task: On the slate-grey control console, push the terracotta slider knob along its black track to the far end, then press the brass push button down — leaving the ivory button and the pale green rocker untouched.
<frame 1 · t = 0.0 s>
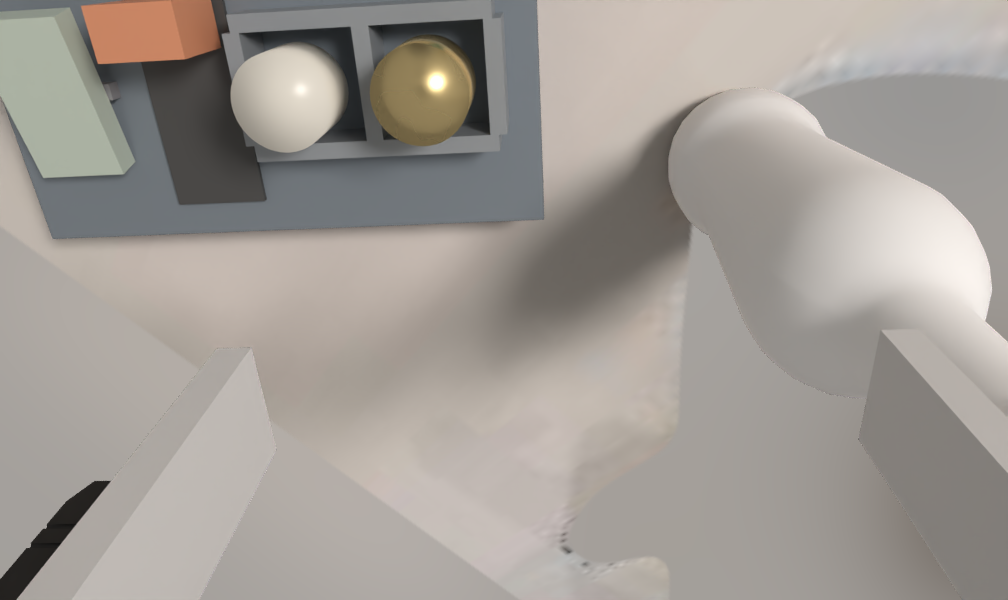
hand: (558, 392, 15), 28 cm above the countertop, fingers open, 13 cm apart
button brass: (425, 89, 31), point 9 cm above the countertop, slide at 0.0 cm
bottle: (733, 153, 41), on the countertop
slider knob: (155, 28, 33), point 7 cm above the countertop, slide at 0.0 cm
console: (287, 69, 40), on the countertop
button ivory: (292, 96, 32), point 9 cm above the countertop, slide at 0.0 cm
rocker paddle: (55, 97, 35), point 6 cm above the countertop, hinge at 12.0°, touching console
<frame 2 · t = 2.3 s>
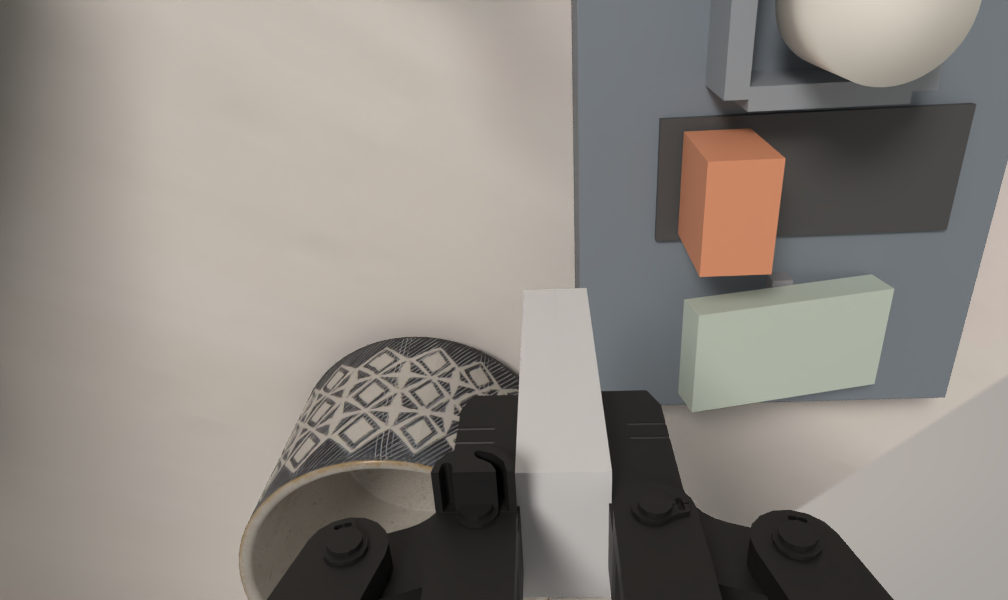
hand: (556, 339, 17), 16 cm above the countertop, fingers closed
slider knob: (725, 200, 25), point 7 cm above the countertop, slide at 0.0 cm
planter: (428, 425, 38), on the countertop
console: (768, 63, 29), on the countertop
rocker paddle: (782, 343, 29), point 6 cm above the countertop, hinge at 12.0°, touching console
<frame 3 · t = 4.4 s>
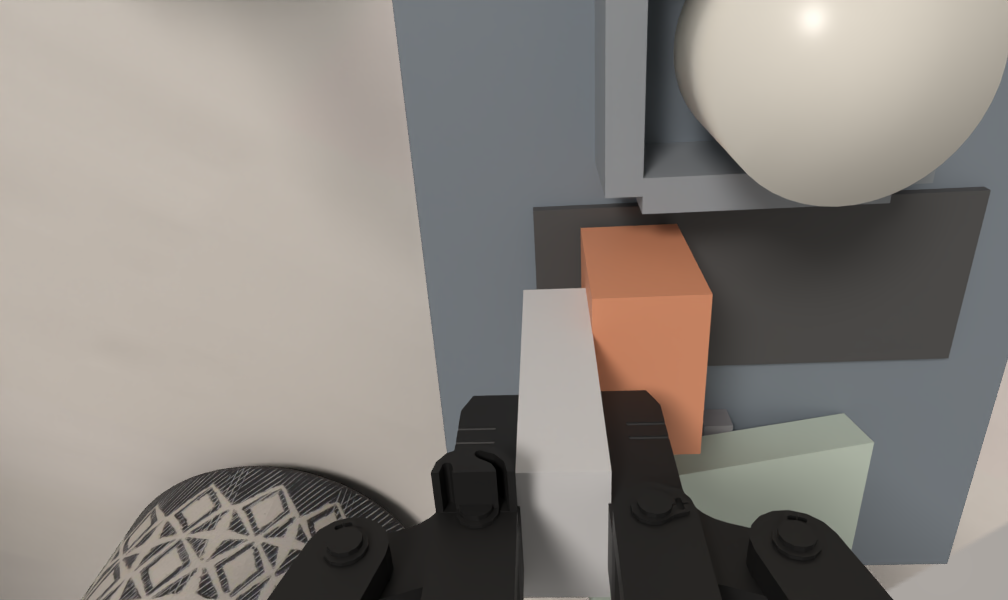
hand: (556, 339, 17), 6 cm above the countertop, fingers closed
slider knob: (637, 334, 17), point 7 cm above the countertop, slide at 0.4 cm, touching gripper
planter: (292, 562, 30), on the countertop
console: (700, 119, 21), on the countertop
button ivory: (816, 54, 12), point 9 cm above the countertop, slide at 0.0 cm
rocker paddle: (719, 510, 21), point 6 cm above the countertop, hinge at 12.0°, touching console
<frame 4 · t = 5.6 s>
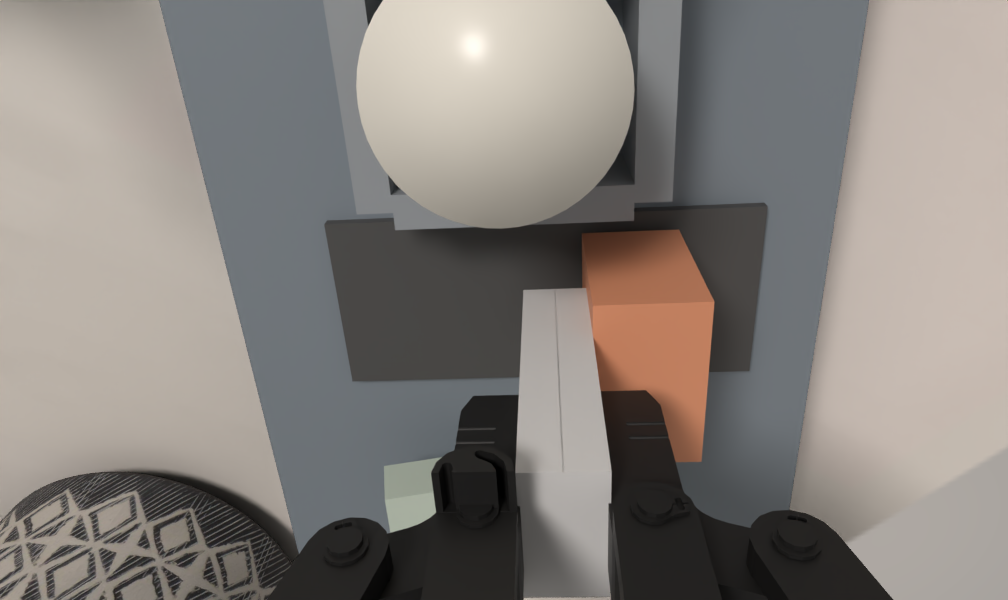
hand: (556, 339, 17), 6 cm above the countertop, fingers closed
slider knob: (638, 340, 17), point 7 cm above the countertop, slide at 5.8 cm, touching gripper
planter: (168, 566, 31), on the countertop
console: (519, 132, 21), on the countertop
button ivory: (499, 78, 12), point 9 cm above the countertop, slide at 0.0 cm
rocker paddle: (531, 519, 21), point 6 cm above the countertop, hinge at 12.0°, touching console
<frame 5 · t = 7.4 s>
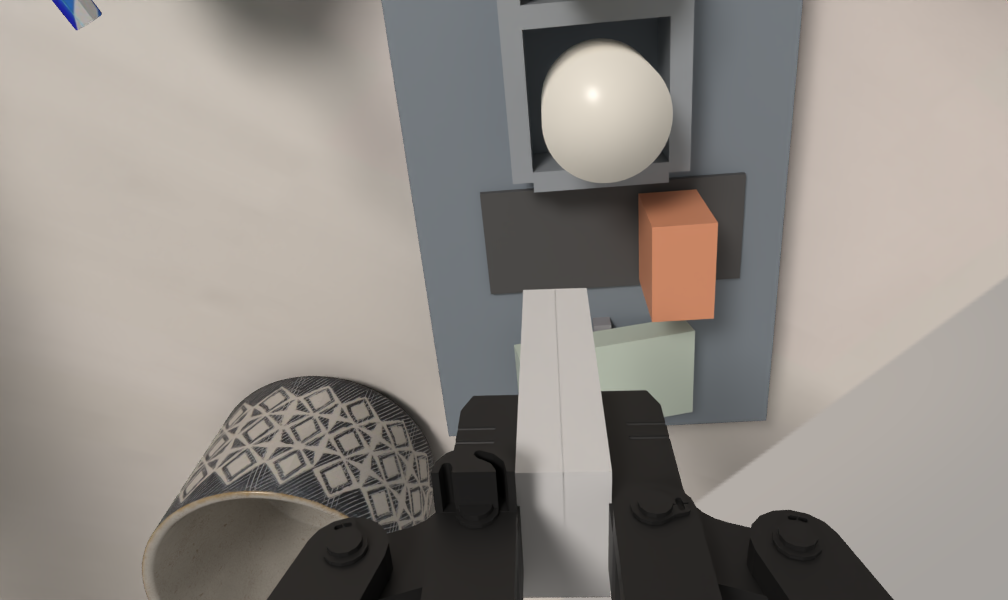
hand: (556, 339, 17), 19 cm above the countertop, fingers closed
slider knob: (674, 253, 29), point 7 cm above the countertop, slide at 5.9 cm
planter: (333, 452, 43), on the countertop
console: (589, 135, 34), on the countertop
button ivory: (602, 108, 25), point 9 cm above the countertop, slide at 0.0 cm
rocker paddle: (605, 379, 33), point 6 cm above the countertop, hinge at 12.0°, touching console
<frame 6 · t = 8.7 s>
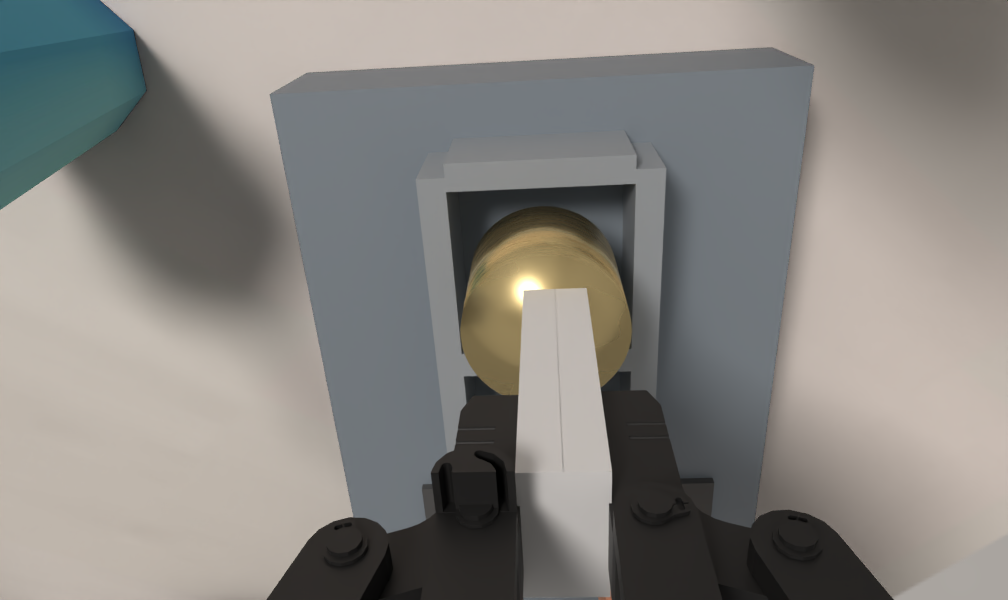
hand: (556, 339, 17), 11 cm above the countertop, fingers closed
button brass: (544, 302, 19), point 9 cm above the countertop, slide at 0.1 cm, touching gripper
cup: (90, 83, 26), on the countertop
slider knob: (633, 578, 26), point 7 cm above the countertop, slide at 5.9 cm
console: (547, 398, 31), on the countertop
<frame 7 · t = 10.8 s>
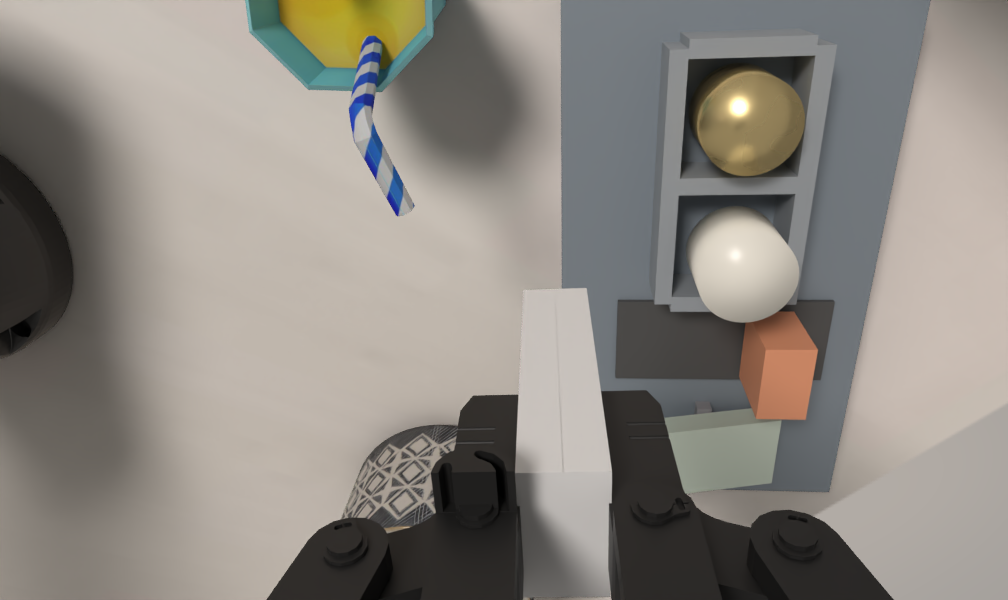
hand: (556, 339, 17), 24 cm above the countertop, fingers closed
button brass: (743, 118, 31), point 6 cm above the countertop, slide at 2.2 cm
slider knob: (775, 364, 36), point 7 cm above the countertop, slide at 5.9 cm
planter: (450, 486, 51), on the countertop
console: (701, 252, 41), on the countertop
button ivory: (739, 263, 32), point 9 cm above the countertop, slide at 0.0 cm
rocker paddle: (703, 452, 40), point 6 cm above the countertop, hinge at 12.0°, touching console
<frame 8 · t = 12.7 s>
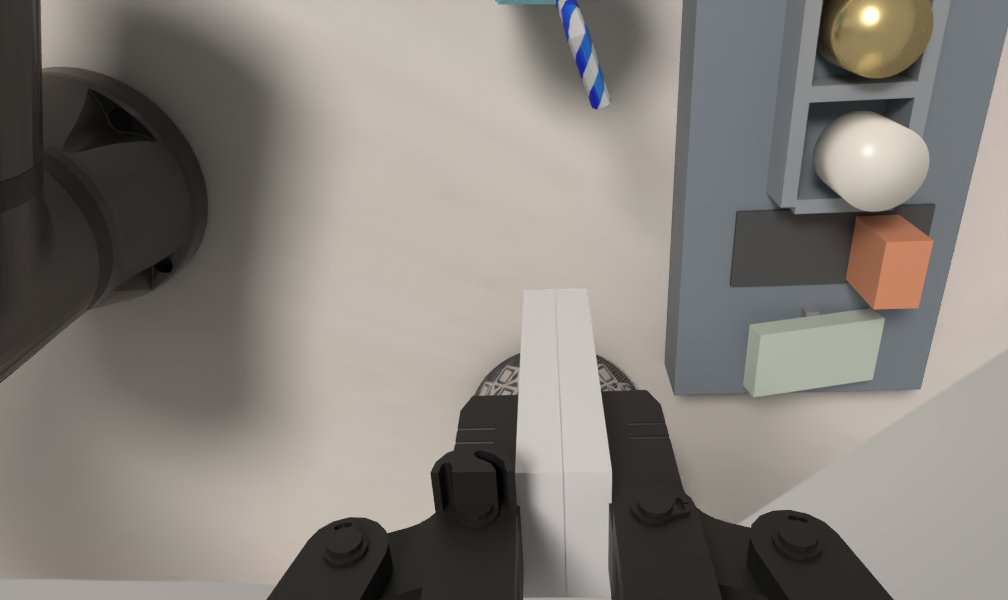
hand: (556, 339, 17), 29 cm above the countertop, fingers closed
button brass: (870, 28, 35), point 6 cm above the countertop, slide at 2.2 cm
slider knob: (886, 261, 40), point 7 cm above the countertop, slide at 5.9 cm
planter: (555, 409, 54), on the countertop
console: (803, 169, 45), on the countertop
button ivory: (868, 160, 36), point 9 cm above the countertop, slide at 0.0 cm
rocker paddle: (812, 352, 44), point 6 cm above the countertop, hinge at 12.0°, touching console
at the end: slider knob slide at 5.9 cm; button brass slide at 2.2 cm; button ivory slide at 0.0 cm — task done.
